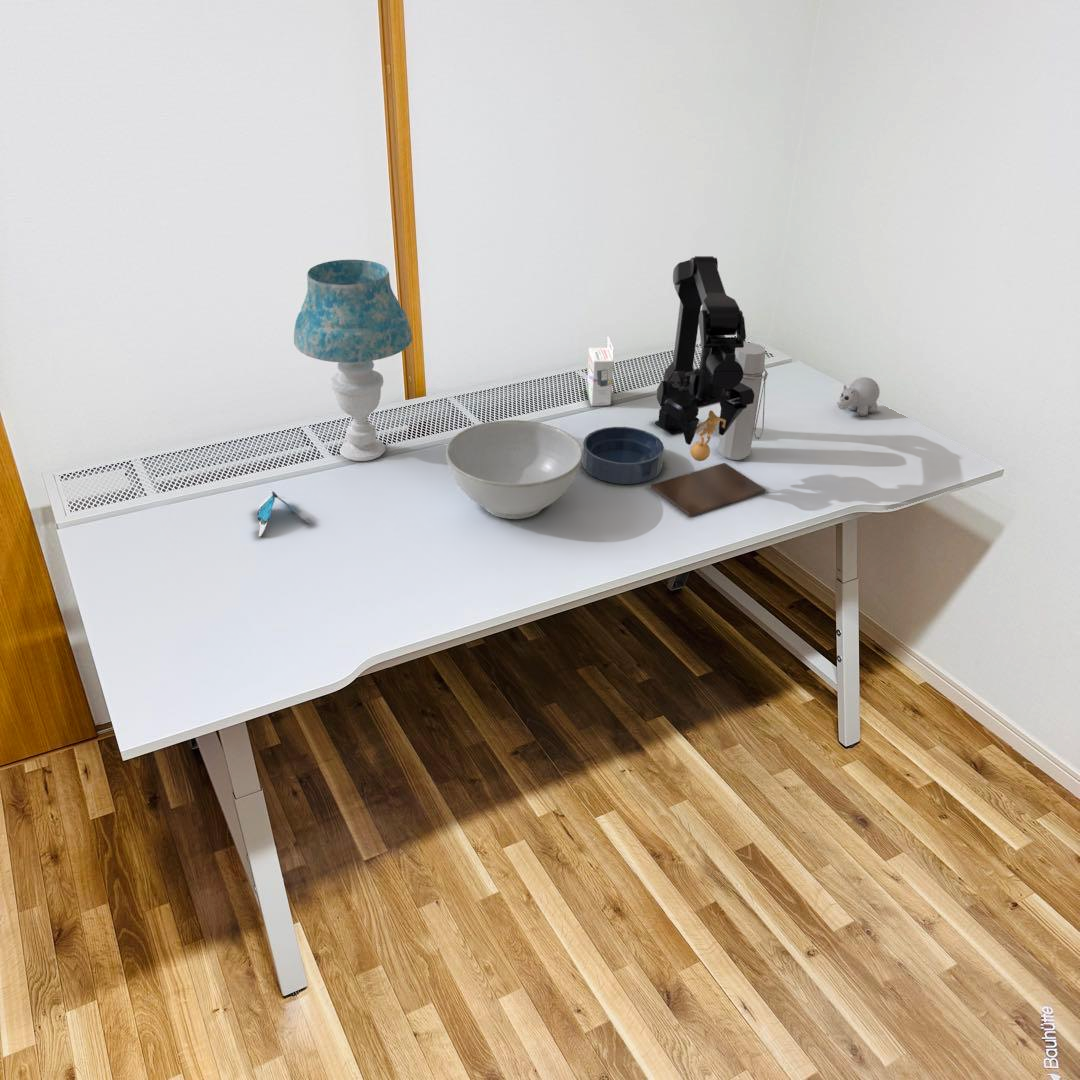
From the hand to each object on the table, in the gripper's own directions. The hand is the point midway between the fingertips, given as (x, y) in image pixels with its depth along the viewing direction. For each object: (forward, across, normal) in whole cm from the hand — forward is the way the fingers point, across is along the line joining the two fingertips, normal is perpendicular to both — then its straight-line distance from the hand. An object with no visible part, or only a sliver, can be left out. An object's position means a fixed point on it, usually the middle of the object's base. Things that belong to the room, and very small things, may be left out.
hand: (704, 439), depth 200 cm
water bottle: (+12, -17, -8) cm, 22 cm away
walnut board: (+12, -1, +2) cm, 12 cm away
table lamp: (+12, +55, -48) cm, 74 cm away
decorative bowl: (+12, +37, -13) cm, 41 cm away
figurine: (+5, 0, 0) cm, 5 cm away
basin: (+12, +8, -16) cm, 21 cm away
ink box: (+12, -6, -46) cm, 48 cm away
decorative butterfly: (+12, +80, -30) cm, 86 cm away
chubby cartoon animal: (+12, -56, -11) cm, 58 cm away
